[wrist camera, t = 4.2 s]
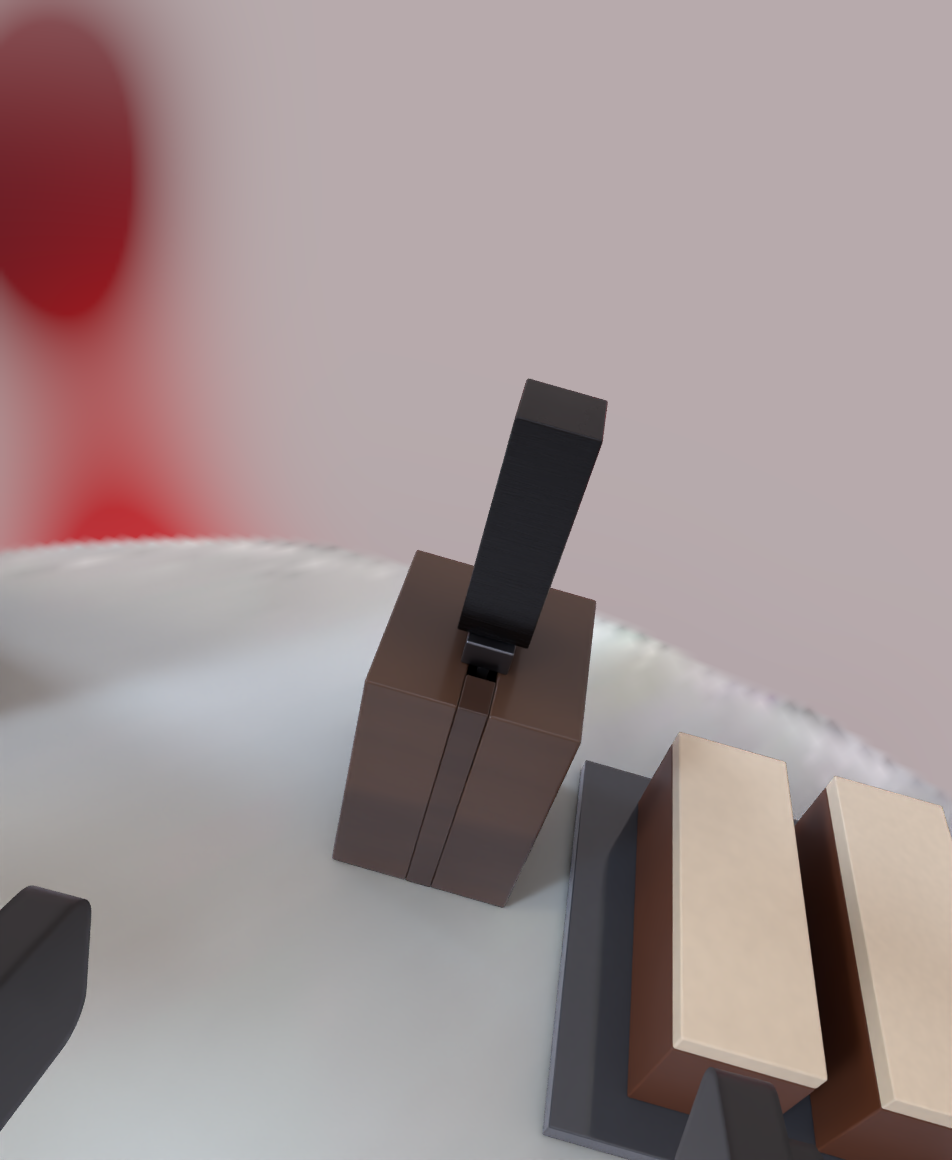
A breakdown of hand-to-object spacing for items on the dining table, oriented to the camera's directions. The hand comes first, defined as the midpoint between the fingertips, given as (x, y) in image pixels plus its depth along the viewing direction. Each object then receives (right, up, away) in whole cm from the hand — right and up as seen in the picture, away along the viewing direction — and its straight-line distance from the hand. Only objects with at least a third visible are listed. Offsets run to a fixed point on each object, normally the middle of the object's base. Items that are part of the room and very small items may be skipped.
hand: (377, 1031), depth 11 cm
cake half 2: (+9, -8, +22) cm, 25 cm away
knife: (0, -4, +25) cm, 25 cm away
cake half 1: (+16, -10, +22) cm, 29 cm away
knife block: (0, -4, +25) cm, 25 cm away
